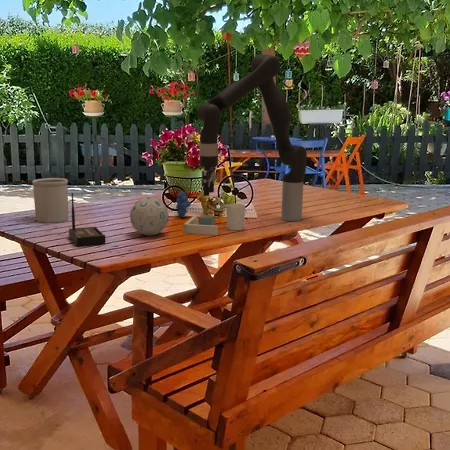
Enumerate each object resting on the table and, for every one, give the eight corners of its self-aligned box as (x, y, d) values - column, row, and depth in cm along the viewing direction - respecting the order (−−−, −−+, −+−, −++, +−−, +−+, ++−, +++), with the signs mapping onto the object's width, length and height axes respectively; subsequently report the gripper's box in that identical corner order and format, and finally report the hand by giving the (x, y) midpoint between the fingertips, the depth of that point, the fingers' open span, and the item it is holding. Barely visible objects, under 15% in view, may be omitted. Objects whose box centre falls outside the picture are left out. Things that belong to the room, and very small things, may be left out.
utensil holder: (26, 221, 267) (24, 180, 264) (51, 215, 280) (49, 176, 276) (52, 224, 261) (50, 183, 257) (76, 218, 274) (75, 179, 270)
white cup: (223, 227, 261) (223, 204, 259) (240, 226, 264) (241, 203, 261) (230, 231, 254) (230, 207, 251) (247, 230, 256) (248, 206, 254)
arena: (193, 224, 266) (193, 216, 265) (225, 226, 263) (225, 218, 262) (183, 233, 250) (183, 224, 249) (217, 235, 247) (217, 226, 246)
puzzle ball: (150, 228, 256) (149, 193, 253) (176, 234, 247) (176, 197, 243) (122, 235, 245) (121, 197, 241) (149, 241, 235) (148, 202, 232)
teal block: (198, 230, 253) (198, 217, 252) (201, 227, 258) (201, 214, 257) (211, 231, 252) (211, 218, 251) (214, 228, 257) (214, 215, 256)
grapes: (194, 219, 276) (194, 192, 273) (180, 220, 274) (180, 193, 271) (187, 214, 287) (187, 188, 284) (173, 214, 284) (173, 189, 282)
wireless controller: (110, 245, 231) (108, 199, 227) (72, 248, 225) (70, 202, 221) (97, 233, 248) (96, 191, 245) (62, 236, 243) (60, 193, 239)
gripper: (214, 156, 242) (214, 197, 245) (221, 152, 255) (221, 191, 259) (195, 156, 243) (195, 196, 247) (203, 152, 257) (204, 190, 260)
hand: (208, 194), depth 253 cm, fingers open, 8 cm apart
